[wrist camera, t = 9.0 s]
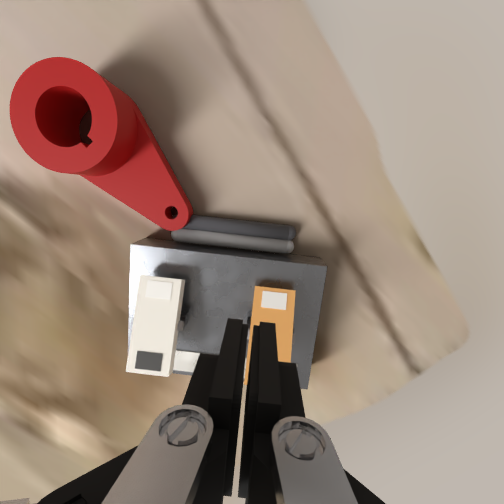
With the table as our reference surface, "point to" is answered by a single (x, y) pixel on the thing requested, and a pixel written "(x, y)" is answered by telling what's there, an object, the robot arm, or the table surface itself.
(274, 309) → the breaker lever
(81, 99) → the lever
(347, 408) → the table surface
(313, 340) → the breaker strip
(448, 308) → the table surface
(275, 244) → the twin grey rods
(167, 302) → the block
